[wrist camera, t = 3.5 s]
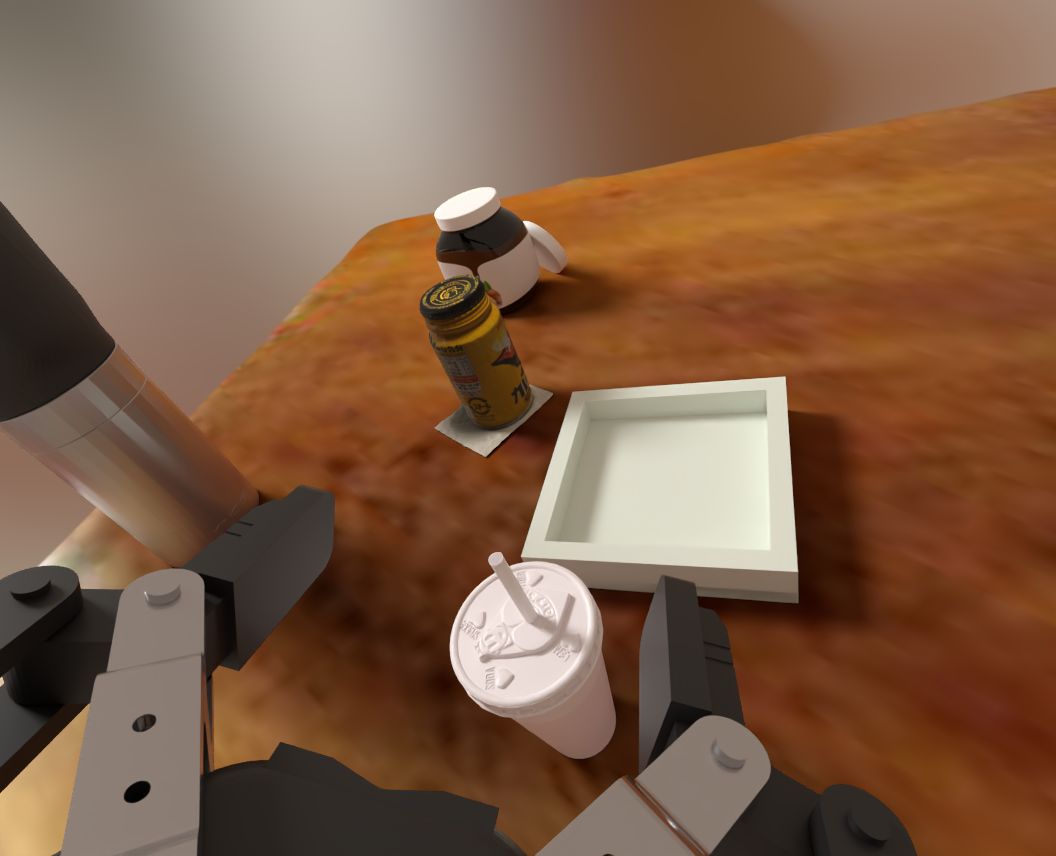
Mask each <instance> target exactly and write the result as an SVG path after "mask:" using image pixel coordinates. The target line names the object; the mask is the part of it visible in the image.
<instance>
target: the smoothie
mask: <svg viewBox="0 0 1056 856" xmlns="http://www.w3.org/2000/svg"><path fill="white" fill-rule="evenodd" d="M488 561H489V564H490V565H491V567H492V568H493V570H494V572H495V573H494V574H493V575H491V576H490V577H488V578H487V579H485V580H484V581H483V582H482V583H481V584H479V585H478V586H477V587H476V588H475V589H474V590H473V591H472V593H471V594H470V595H469V596H468V597H467V599H466V600H465V602H464V603H463V605H462V606H461V608H460V610H459V612H458V614H457V616H456V619H455V621H454V624H453V628H452V632H451V638H450V657H451V662H452V666H453V669H454V672H455V674H456V676H457V678H458V680H459V681H460V683H461V684H462V685H463V687H464V688H465V690H466V692H467V694H468V695H469V697H470V698H472V699H473V700H474V701H475V702H476V703H477V704H478V705H479V706H480V707H481V708H483V709H485V710H487V711H489V712H491V713H494V714H496V715H498V716H501V717H510V718H512V719H513V720H515V721H516V722H518V723H519V724H521V725H522V726H523V727H525V728H526V729H528V730H529V731H530V732H532V733H533V734H535V735H536V736H537V737H539V738H540V739H542V740H543V741H545V742H546V743H547V744H549V745H550V746H552V747H553V748H554V749H556V750H557V751H559V752H560V753H562V754H563V755H565V756H567V757H570V758H574V759H584V758H589V757H592V756H594V755H596V754H597V753H599V752H600V751H602V750H603V749H604V748H605V747H606V746H607V744H608V743H609V741H610V740H611V738H612V736H613V733H614V730H615V725H616V713H615V708H614V704H613V699H612V695H611V690H610V686H609V682H608V677H607V673H606V668H605V664H604V659H603V655H602V650H601V647H602V638H603V626H602V620H601V614H600V611H599V609H598V607H597V604H596V602H595V600H594V598H593V596H592V595H591V594H590V592H589V590H588V588H587V587H586V585H585V584H584V583H583V581H582V580H581V579H580V578H579V577H578V576H576V575H575V574H574V573H573V572H571V571H569V570H568V569H566V568H564V567H562V566H559V565H556V564H553V563H548V562H539V561H534V562H524V563H519V564H515V565H512V566H509V565H508V563H507V562H506V560H505V558H504V557H503V555H502V554H501V553H499V552H496V553H493V554H492V555H491V556H490V557H489V560H488Z"/></svg>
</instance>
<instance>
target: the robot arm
mask: <svg viewBox="0 0 1056 856" xmlns="http://www.w3.org/2000/svg"><path fill="white" fill-rule="evenodd" d="M0 431H1V432H2V433H4V434H5V435H6V436H7V437H9V438H10V439H11V440H13V441H14V442H15V443H16V444H17V445H19V446H20V447H21V448H22V449H24V450H25V451H26V452H28V453H29V454H30V455H32V456H33V457H34V458H35V459H37V460H38V461H39V462H41V463H42V464H43V465H44V466H45V467H47V468H48V469H49V470H51V471H52V472H53V473H54V474H56V475H57V476H58V477H60V478H61V479H62V480H63V481H64V482H66V483H67V484H68V485H69V486H71V487H72V488H73V489H74V490H76V491H77V492H78V493H79V494H81V495H82V496H83V497H85V498H86V499H87V500H88V501H89V502H91V503H92V504H93V505H94V506H96V507H97V508H98V509H99V510H101V511H102V512H103V513H104V514H106V515H107V516H108V517H110V518H111V519H112V520H113V521H115V522H116V523H117V524H118V525H120V526H121V527H122V528H123V529H125V530H126V531H127V532H128V533H130V534H131V535H132V536H133V537H134V538H135V539H137V540H138V541H139V542H141V543H142V544H143V545H144V546H146V547H147V548H148V549H149V550H151V551H152V552H153V553H154V554H156V555H157V556H158V557H159V558H161V559H162V560H163V561H165V562H166V563H167V564H168V565H170V566H172V567H175V568H180V569H165V570H160V571H156V572H152V573H149V574H147V575H144V576H142V577H140V578H138V579H137V580H135V581H133V582H132V583H131V584H130V585H128V586H127V587H126V588H125V589H123V590H111V589H81V588H80V583H79V578H78V576H77V574H76V573H75V572H74V571H73V570H71V569H69V568H66V567H61V566H40V567H34V568H30V569H26V570H22V571H19V572H16V573H14V574H11V575H9V576H7V577H5V578H3V579H1V580H0V678H1V677H3V680H4V684H3V685H2V686H1V687H0V793H1V792H2V791H3V790H4V789H5V788H6V787H7V786H8V785H9V784H10V783H11V782H12V781H13V780H14V779H15V778H16V777H17V776H18V775H19V774H20V773H21V772H22V771H23V770H24V769H25V768H26V767H27V765H28V764H29V763H30V762H31V761H32V760H33V759H34V758H35V757H36V756H37V755H38V754H39V753H40V752H41V751H42V750H43V749H44V748H45V747H46V746H47V745H48V744H49V743H50V742H51V741H52V740H53V739H54V738H55V737H56V736H57V735H58V734H59V733H60V732H61V731H62V730H63V729H64V728H65V727H66V726H67V725H68V724H69V723H70V722H71V721H72V720H73V719H74V718H75V717H76V716H77V715H78V714H79V713H80V712H81V711H82V710H83V709H84V708H85V707H86V706H87V705H88V704H89V703H90V708H89V713H88V718H87V723H86V728H85V733H84V738H83V743H82V748H81V753H80V758H79V764H78V769H77V774H76V779H75V784H74V789H73V794H72V799H71V804H70V809H69V814H68V820H67V825H66V830H65V835H64V840H63V845H62V850H61V851H59V852H58V853H56V854H54V855H52V856H527V855H526V854H525V853H524V852H523V850H522V849H521V848H520V847H519V846H518V845H517V844H516V843H514V842H513V841H512V840H511V839H510V838H509V837H507V836H506V835H505V834H503V833H502V832H500V831H499V830H497V829H496V828H495V824H496V819H497V815H498V811H499V808H497V807H494V806H490V805H487V804H484V803H481V802H477V801H474V800H471V799H467V798H464V797H461V796H457V795H454V794H451V793H447V792H444V791H415V790H386V789H381V788H378V787H377V786H375V785H373V784H372V783H370V782H369V781H367V780H366V779H364V778H363V777H361V776H360V775H358V774H357V773H355V772H354V771H352V770H350V769H349V768H347V767H346V766H344V765H343V764H341V763H340V762H338V761H337V760H335V759H334V758H332V757H328V756H325V755H322V754H319V753H315V752H312V751H309V750H305V749H302V748H299V747H295V746H292V745H289V744H285V743H282V742H280V743H279V745H278V747H277V748H276V750H275V751H274V753H273V754H272V756H271V757H270V759H269V760H258V761H247V762H242V763H237V764H233V765H229V766H226V767H223V768H219V769H216V770H214V709H213V676H212V673H213V671H214V670H215V669H216V668H217V667H218V666H219V665H220V666H223V667H227V668H230V669H234V670H237V671H239V670H240V669H241V668H242V667H243V666H244V664H245V663H246V662H247V661H248V660H249V658H250V657H251V656H252V655H253V654H254V652H255V651H256V650H257V649H258V648H259V647H260V645H261V644H262V643H263V642H264V641H265V639H266V638H267V637H268V636H269V635H270V633H271V632H272V631H273V630H274V629H275V627H276V626H277V625H278V624H279V623H280V621H281V620H282V619H283V618H284V617H285V615H286V614H287V613H288V612H289V611H290V609H291V608H292V607H293V606H294V605H295V603H296V602H297V601H298V600H299V599H300V597H301V596H302V595H303V594H304V593H305V591H306V590H307V589H308V588H309V587H310V585H311V584H312V583H313V582H314V581H315V579H316V578H317V577H318V576H319V575H320V573H321V572H322V571H323V570H324V568H325V567H326V565H327V563H328V561H329V559H330V556H331V553H332V550H333V540H334V504H335V499H334V495H333V493H332V492H329V491H325V490H321V489H317V488H313V487H309V486H305V485H300V486H298V487H297V488H296V489H295V490H293V491H292V492H291V493H290V494H289V495H288V496H287V497H285V498H284V499H283V500H282V501H280V500H276V499H274V500H272V501H269V502H267V503H264V504H262V505H260V506H259V494H258V492H257V490H256V489H255V488H254V487H253V486H252V485H251V484H250V482H249V481H248V480H247V479H246V478H245V477H244V476H243V475H242V474H241V473H240V472H239V471H238V470H237V469H236V468H235V467H234V466H233V465H232V464H231V462H230V461H229V460H228V459H227V458H226V457H225V456H224V455H223V454H222V453H221V452H220V451H219V450H218V448H217V447H216V446H215V445H214V444H213V443H212V442H211V441H210V440H209V439H208V438H207V437H206V436H205V435H204V434H203V433H202V432H201V431H200V430H199V429H198V427H197V426H196V425H195V424H194V423H193V422H192V421H191V420H190V419H189V418H188V417H187V416H186V415H185V414H184V413H183V412H182V411H181V410H180V409H179V407H177V406H176V404H175V403H174V402H173V401H172V400H171V399H170V398H169V397H168V396H167V395H166V394H165V393H164V392H163V391H162V390H161V389H160V388H159V387H158V386H157V384H156V383H155V382H154V381H153V380H152V379H151V378H150V377H149V376H148V375H147V374H146V373H145V372H144V371H143V370H142V369H141V368H140V367H139V366H138V365H137V364H136V363H135V361H133V359H132V358H131V357H130V356H129V355H128V354H127V353H126V352H125V351H124V350H123V349H122V348H121V347H120V346H119V345H118V344H117V343H116V342H115V341H114V339H113V338H112V337H111V336H110V335H109V334H108V333H107V332H106V331H105V329H104V328H103V327H102V326H101V325H100V324H99V322H98V321H97V319H96V317H95V316H94V315H93V313H92V311H91V310H90V308H89V307H88V305H87V304H86V302H85V301H84V299H83V298H82V296H81V295H80V294H79V293H78V291H77V290H76V289H75V288H74V287H73V286H72V285H71V283H70V282H69V281H68V280H67V279H66V278H65V277H64V276H63V274H62V273H61V272H60V271H59V270H58V269H57V268H56V266H55V265H54V264H53V263H52V262H51V261H50V259H49V258H48V257H47V256H46V255H45V254H44V252H43V251H42V250H41V249H40V248H39V247H38V245H37V244H36V243H35V242H34V241H33V239H32V238H31V237H30V236H29V235H28V233H27V232H26V231H25V230H24V229H23V227H22V226H21V225H20V224H19V223H18V221H17V220H16V219H15V218H14V217H13V215H11V213H10V212H9V211H8V209H7V208H6V207H5V206H4V205H3V204H2V203H1V202H0ZM535 856H917V854H916V851H915V848H914V846H913V843H912V840H911V838H910V836H909V834H908V832H907V830H906V829H905V827H904V826H903V824H902V823H901V822H900V820H899V819H898V818H897V817H896V815H895V814H894V813H893V812H892V811H891V810H890V809H889V808H888V807H887V806H886V805H885V804H883V803H882V802H881V801H880V800H878V799H877V798H875V797H874V796H872V795H871V794H869V793H867V792H866V791H864V790H862V789H859V788H857V787H854V786H850V785H844V784H837V785H832V786H830V787H828V788H827V789H825V791H824V792H823V794H822V795H819V794H817V793H816V792H814V791H812V790H810V789H809V788H807V787H805V786H803V785H802V784H800V783H798V782H796V781H795V780H793V779H791V778H789V777H788V776H786V775H784V774H783V773H781V772H780V771H778V770H777V769H776V768H774V767H773V766H772V765H771V764H770V760H769V757H768V755H767V752H766V750H765V749H764V747H763V745H762V744H761V742H760V741H759V740H758V739H757V738H756V737H755V735H754V734H752V733H751V732H750V731H749V730H748V729H747V728H746V727H745V723H744V718H743V712H742V707H741V702H740V697H739V691H738V686H737V681H736V675H735V670H734V668H733V660H732V654H731V652H730V644H729V638H728V633H727V629H726V627H725V626H724V624H723V623H722V621H721V620H720V618H719V617H718V615H717V614H716V612H715V611H714V610H710V609H706V608H702V607H699V606H698V598H697V591H696V585H695V583H694V582H691V581H687V580H683V579H679V578H675V577H671V576H667V575H661V577H660V579H659V582H658V585H657V588H656V591H655V594H654V597H653V600H652V603H651V606H650V609H649V612H648V615H647V618H646V621H645V624H644V628H643V632H642V637H641V643H640V670H639V776H638V777H637V778H635V779H634V780H632V779H631V778H630V777H629V776H628V775H625V776H623V777H621V778H620V779H618V780H617V781H616V782H615V783H613V784H612V785H611V786H610V787H609V788H608V789H607V790H606V791H605V792H604V793H603V794H601V795H600V796H599V797H598V798H597V799H596V800H595V801H594V802H593V803H592V804H591V805H589V806H588V807H587V808H586V809H585V810H584V811H583V812H582V813H581V814H580V815H579V816H577V817H576V818H575V819H574V820H573V821H572V822H571V823H570V824H569V825H568V826H567V827H566V828H564V829H563V830H562V831H561V832H560V833H559V834H558V835H557V836H556V837H555V838H554V839H552V840H551V841H550V842H549V843H548V844H547V845H546V846H545V847H544V848H543V849H542V850H540V851H539V852H538V853H537V854H536V855H535Z"/></svg>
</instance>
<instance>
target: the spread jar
mask: <svg viewBox="0 0 1056 856" xmlns="http://www.w3.org/2000/svg"><path fill="white" fill-rule="evenodd" d="M500 204H501V203H500V200H499V197H498V195H497V192H496V190H495V189H494V188H491V187H483V188H477V189H473V190H469V191H467V192H464V193H462V194H459V195H457V196H455V197H453V198H451V199H449V200H448V201H446V202H445V203H443V204H442V205H441V206H440V207H439V208H438V209H437V210H436V211H435V214H434V215H435V218H436V221H437V223H438V225H439V228H440V229H441V230H442V231H441V233H440V236H439V238H438V241H437V245H436V257H437V261H438V264H439V267H440V269H441V271H442V274H443V276H444V278H445V280H446V279H449V278H452V277H455V276H459V275H467V274H468V275H472V276H476V277H478V278H479V279H480V280H481V281H482V282H483V283H484V287H485V290H486V293H487V295H488V296H489V297H490V299H491V303H493V304H495V305H496V306H497V308H498V309H499V311H500V314H501V315H504V314H507V313H509V312H512V311H514V310H515V309H517V308H519V307H520V306H522V305H523V304H524V303H525V302H526V301H527V300H528V299H529V297H530V296H531V295H532V293H533V291H534V290H535V288H536V286H537V283H538V280H539V276H540V267H539V265H540V266H541V267H543V268H544V269H546V270H548V271H550V272H553V273H560V272H561V271H562V269H563V268H564V267H565V266H566V264H567V263H568V257H567V255H566V253H565V251H564V250H563V248H562V247H561V245H560V244H559V243H558V242H557V241H556V240H555V239H554V238H553V237H552V236H551V235H550V234H549V233H548V232H546V231H545V230H544V229H542V228H541V227H539V226H538V225H536V224H534V223H532V222H529V221H522V220H521V219H520V218H519V217H518V216H517V215H515V214H514V213H512V212H511V211H509V210H507V209H506V208H503V207H501V205H500Z"/></svg>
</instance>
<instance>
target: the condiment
mask: <svg viewBox="0 0 1056 856" xmlns="http://www.w3.org/2000/svg"><path fill="white" fill-rule="evenodd" d="M420 312H421V314H422V315H423V317H424V318H425V322H426V325H427V327H428V329H430V333H429V339H430V342H431V344H432V346H433V348H434V350H435V352H436V354H437V356H438V358H439V360H440V362H441V364H442V366H443V368H444V370H445V372H446V373H447V375H448V377H449V379H450V381H451V383H452V385H453V387H454V389H455V391H456V393H457V395H458V397H459V399H460V401H461V403H462V405H461V406H460V407H459V408H458V409H457V410H456V411H455V412H454V413H453V414H451V415H450V416H449V417H448V418H446V419H444V420H443V421H442V422H441V423H440V424H439V425H437V426H436V427H435V429H437V430H438V431H440V432H441V433H443V434H445V435H446V436H448V437H450V438H452V439H453V440H455V441H457V442H459V443H461V444H462V445H463V446H466V447H468V448H470V449H472V450H473V451H475V452H477V453H479V454H481V455H483V456H485V457H486V456H487V455H488V454H489V453H490V452H491V451H492V450H493V449H494V448H496V447H497V446H498V445H499V444H500V443H501V441H503V440H504V439H505V438H506V437H507V436H509V434H510V433H511V432H513V431H514V430H515V429H516V428H518V427H519V426H520V425H521V424H522V423H524V422H525V421H526V420H527V419H528V418H529V417H530V416H531V415H532V414H533V413H535V411H537V410H538V409H539V408H540V407H541V406H542V405H543V404H544V403H545V402H546V401H547V400H549V398H550V397H551V396H552V395H553V394H554V393H551V392H549V391H546V390H543V389H541V388H537V387H534V386H532V385H529V383H528V380H527V377H526V375H525V373H524V370H523V367H522V366H521V362H520V360H519V358H518V356H517V353H516V351H515V348H514V346H513V343H512V341H511V338H510V336H509V333H508V331H507V328H506V326H505V323H504V320H503V317H502V316H501V314H500V311H499V309H498V308H497V306H496V305H495V304H493V303H491V299H490V297H489V296H488V295H487V293H486V290H485V287H484V283H483V282H482V281H481V280H480V279H479V278H478V277H476V276H472V275H468V274H467V275H459V276H455V277H452V278H449V279H446V280H444V281H442V282H440V283H438V284H437V285H435V286H433V287H432V288H430V289H429V290H428V291H427V292H426V293H425V294H424V295H423V296H422V298H421V301H420Z"/></svg>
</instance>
